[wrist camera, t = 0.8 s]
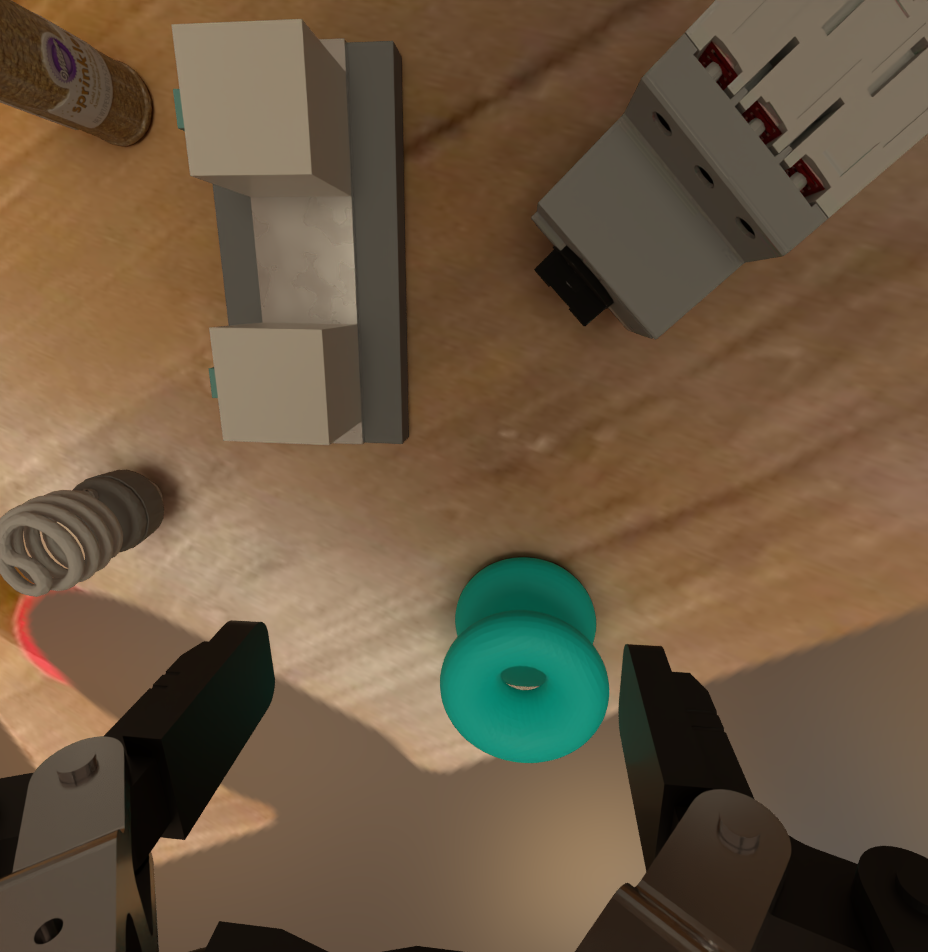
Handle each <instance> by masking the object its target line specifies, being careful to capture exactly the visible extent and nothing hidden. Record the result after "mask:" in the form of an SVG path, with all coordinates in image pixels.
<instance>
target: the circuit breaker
mask: <svg viewBox="0 0 928 952" xmlns="http://www.w3.org/2000/svg"><path fill="white" fill-rule="evenodd" d="M927 134H928V0H715V1H714V3H713V4H712V5H711V6H710V7H709V8H708V9H707V10H706V11H705V12H704V13H703V14H702V15H701V16H700V17H699V18H698V19H697V20H696V21H695V22H694V23H693V25H692V26H691V27H690V28H689V29H688V30H687V31H686V32H685V33H684V34H683V35H682V36H681V37H680V38H679V39H678V40H677V41H676V42H675V43H674V44H673V45H672V47H671V48H670V49H669V50H668V51H667V52H666V53H665V54H664V55H663V56H662V57H661V58H660V59H659V60H658V61H657V62H656V63H655V64H654V65H653V66H652V68H651V69H650V70H649V71H648V72H647V73H646V74H645V75H644V76H643V77H642V79H641V80H640V82H639V84H638V86H637V89H636V91H635V93H634V95H633V97H632V99H631V101H630V103H629V105H628V107H627V109H626V111H625V113H624V114H623V115H622V116H621V117H620V118H619V119H618V120H617V121H616V123H615V124H614V125H613V126H612V127H611V128H610V129H609V130H608V131H607V132H606V133H605V134H604V135H603V136H602V137H601V138H600V139H599V140H598V141H597V142H596V143H595V144H594V145H593V146H592V147H591V148H590V150H589V151H588V152H587V153H586V154H585V155H584V156H583V157H582V158H581V159H580V160H579V161H578V162H577V163H576V164H575V165H574V166H573V167H572V168H571V169H570V170H569V171H568V172H567V173H566V174H565V175H564V177H563V178H562V179H561V180H560V181H559V182H558V183H557V184H556V185H555V186H554V187H553V188H552V189H551V190H550V191H549V192H548V193H547V194H546V195H545V196H544V197H543V198H542V199H541V200H540V201H539V202H538V206H537V212H536V213H535V214H534V215H533V216H532V220H533V221H534V222H535V224H536V226H537V227H538V228H539V229H540V230H541V231H542V232H543V234H544V235H545V236H546V237H547V238H548V239H549V240H550V242H551V243H552V244H553V245H554V246H553V248H554V250H553V251H552V252H551V253H550V254H549V255H548V256H547V257H546V258H545V259H544V260H543V261H542V262H541V263H540V264H539V265H538V266H537V267H536V268H535V269H534V270H535V271H536V273H537V274H538V275H539V276H540V277H541V278H542V280H543V281H544V282H545V283H546V284H547V285H548V286H551V287H552V288H553V289H554V290H555V292H556V293H557V294H558V295H559V296H560V297H561V298H562V299H563V301H564V302H565V303H566V304H567V305H568V306H569V307H570V309H569V310H570V311H571V312H572V313H573V315H574V316H575V317H576V318H577V319H578V320H579V321H580V323H581V324H582V325H583V326H586V325H587V324H588V323H590V322H591V321H592V320H593V319H594V318H595V317H596V316H597V315H599V314H600V313H601V312H602V311H603V310H604V309H605V308H609V309H610V310H611V312H612V313H613V314H614V315H615V316H616V317H617V318H618V320H619V321H620V322H621V323H622V324H623V325H624V327H625V328H626V329H627V330H629V331H631V332H634V333H637V334H640V335H643V336H646V337H648V338H651V339H652V338H654V339H657V338H658V337H659V336H661V335H662V334H663V333H664V332H665V331H666V330H668V329H669V328H670V327H671V326H672V325H673V324H674V323H676V322H677V321H678V320H679V319H680V318H681V317H683V316H684V315H685V314H686V313H687V312H688V311H689V310H691V309H692V308H693V307H694V306H695V305H696V304H697V303H699V302H700V301H701V300H702V299H703V298H704V297H706V296H707V295H708V294H709V293H710V292H711V291H712V290H714V289H715V288H716V287H717V286H718V285H719V284H720V283H722V282H723V281H724V280H725V279H726V278H727V277H729V276H730V275H731V274H732V273H733V272H734V271H735V270H737V269H738V268H739V267H740V266H741V265H742V264H744V263H745V262H751V261H757V260H763V259H769V258H775V257H781V256H784V255H786V254H787V253H788V252H789V251H791V250H792V249H793V248H794V247H795V246H796V245H798V244H799V243H800V242H801V241H802V240H803V239H805V238H806V237H807V236H808V235H809V234H811V233H812V232H813V231H814V230H815V229H816V228H818V227H819V226H820V225H821V224H822V223H823V222H825V221H826V220H827V219H828V218H829V217H830V216H832V215H833V214H834V213H835V212H836V211H837V210H839V209H840V208H841V207H842V206H843V205H845V204H846V203H847V202H848V201H849V200H850V199H852V198H853V197H854V196H855V195H856V194H857V193H859V192H860V191H861V190H862V189H863V188H864V187H866V186H867V185H868V184H869V183H870V182H871V181H873V180H874V179H875V178H876V177H877V176H878V175H880V174H881V173H882V172H883V171H884V170H886V169H887V168H888V167H889V166H890V165H891V164H893V163H894V162H895V161H896V160H897V159H898V158H900V157H901V156H902V155H903V154H904V153H905V152H907V151H908V150H909V149H910V148H911V147H912V146H914V145H915V144H916V143H917V142H918V141H919V140H921V139H922V138H923V137H924V136H925V135H927Z"/></svg>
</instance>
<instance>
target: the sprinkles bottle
mask: <svg viewBox="0 0 928 952" xmlns="http://www.w3.org/2000/svg"><path fill="white" fill-rule="evenodd" d="M0 102H1V103H4V104H6V105H9V106H12V107H14V108H17V109H20V110H23V111H25V112H28V113H31V114H33V115H36V116H39V117H41V118H44V119H47V120H50V121H52V122H55V123H58V124H61V125H63V126H66V127H69V128H72V129H75V130H82V131H85V132H87V133H90V134H92V135H95V136H98V137H100V138H101V139H103V140H105V141H107V142H108V143H110V144H113V145H118V146H128V145H132V144H134V143H136V142H137V141H138V140H139V139H140V138H141V137H143V136H144V135H145V132H146V131H147V130H148V128H149V125H150V118H151V112H152V106H151V98H150V95H149V92H148V89H147V88H146V86H145V84H144V83H143V81H142V79H141V78H140V77H139V75H138V74H137V73H136V72H135V71H134V70H133V69H132V68H130V67H129V66H128V65H126V64H125V63H122V62H120V61H116V60H113V59H112V58H110V57H108V56H106V55H105V54H103V53H101V52H99V51H97V50H96V49H94V48H93V47H92V46H91V45H89V44H88V43H86V42H85V41H83V40H81V39H79V38H78V37H76V36H74V35H72V34H71V33H69V32H67V31H65V30H64V29H62V28H60V27H59V26H57V25H55V24H53V23H52V22H50V21H48V20H46V19H45V18H43V17H41V16H39V15H37V14H35V13H33V12H31V11H29V10H27V9H25V8H24V7H22V6H20V5H19V4H17V3H15V2H13V1H11V0H0Z"/></svg>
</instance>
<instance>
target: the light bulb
mask: <svg viewBox="0 0 928 952" xmlns="http://www.w3.org/2000/svg"><path fill="white" fill-rule="evenodd" d="M162 499H163V497H162V493H161V491H160V489H159V488H158V486H157V485H156V484H154V483H153V482H151V481H149V479H147V478H145V477H144V476H142V475H140V474H138V473H136V472H133V471H129V470H116V471H112V472H109V473H105V474H101V475H98V476H95V477H92V478H89V479H86V480H85V481H84V482H82V483H80V484H78V485H77V486H76V487H75V488H74V489H73V490H72V491H71V490H59V491H54V492H51V493H48V494H46V495H44V496H38V497H36V498H33V499H30V500H28V501H27V502H25V503H23V504H22V505H19V506H17V507H15V508H13V509H11V510H9V511H8V512H7V513H6V514H5V515H4V516H3V517H1V518H0V574H1V575H2V577H3V578H4V579H5V581H6V582H8V583H9V584H10V585H11V586H12V587H13V588H14V589H15V590H17V591H18V592H20V593H22V594H25V595H29V596H35V597H38V596H41V595H44V594H47V593H48V592H49V591H50V590H55V591H62V590H67V589H69V588H71V587H73V586H75V585H76V584H77V583H78V582H82V581H84V580H87V579H89V578H90V577H91V576H93V575H94V573H95V572H97V571H99V570H101V569H103V568H104V567H105V566H106V565H107V564H108V563H109V561H110V560H111V558H113V557H115V556H116V555H117V554H118V553H119V552H123V551H126V550H128V549H130V548H134V547H135V546H136V545H138V544H139V543H141V542H142V541H143V540H145V539H146V538H147V537H148V536H150V535H151V534H152V533H153V532H154V531H155V530H156V529H157V528H158V527H159V526H160V524H161V522H162V520H163V516H164V505H163V501H162ZM57 522H59V523H61V524H63V525H64V526H66V527H67V528H68V529H69V530H71V532H72V533H73V534H74V535H75V536H76V537H77V538H78V540H79V541H80V543H81V545H82V547H83V549H84V553H85V560H84V557H83V554H82V551H81V548H80V546H79V545H78V543H77V542H76V540H75V539H74V537H73V536H72V535H71V534H70V533H69V532H68V531H67V530H66V529H65V528H63V527H62V526H61V525H59V524H58V523H57ZM23 530H24V539H25V543H26V547H27V549H28V551H29V553H30V555H31V557H32V558H31V557H29V556H28V555H27V552H26V550H25V547H24V542H23ZM39 531H41V532H42V535H43V539H44V541H45V543H46V546H47V548H48V549H49V551H50V552H51V553H52V555H53V556H54V557H55V559H56V560H58V561H59V562H60V563H61V564H62V565H64V566H65V567H67V568H68V569H66V568H63V567H62V566H60V565H59V564H57V563H56V562H55V561H54V560H53V559H52V558H51V557H50V556H49V555H48V553H47V552H46V551H45V549H44V547H43V544H42V542H41V538H40V532H39ZM14 566H15V567H17V568H18V569H19V570H20V571H21V572H22V573H23V574H24V576H25V577H26V578H28V579H29V580H30V581H31V582H33V583H34V584H32V583H29V582H28V581H27V580H25V579H24V578H23V577H22V576H21V575H20V574H19V573H18V572H17V571H16V569H15V568H14ZM52 577H53V578H52Z"/></svg>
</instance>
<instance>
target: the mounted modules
mask: <svg viewBox="0 0 928 952" xmlns="http://www.w3.org/2000/svg"><path fill="white" fill-rule="evenodd" d="M172 32H173V40H174V48H175V56H176V64H177V72H178V80H179V88H180V89H173V93H174V101H175V109H176V116H177V124H178V128H179V129H181V130H183V131H185V137H186V145H187V153H188V161H189V169H190V176H193V177H195V178H198V179H201V180H204V181H207V182H210V183H212V184H215V185H218V186H221V187H224V188H226V189H229V190H232V191H235V192H238V193H240V194H243V195H246V196H249V197H332V196H351V177H350V155H349V133H348V111H347V89H346V72H345V71H344V69H343V68H342V67H341V66H340V65H339V63H338V62H337V61H336V60H335V59H334V57H333V56H332V55H331V54H330V53H329V51H328V50H327V49H326V48H325V46H324V45H323V44H322V43H321V42H320V40H319V39H318V38H317V37H316V36H315V34H314V33H313V32H312V31H311V30H310V28H309V27H308V26H307V25H306V24H305V22H304V21H303V20H302V19H291V20H267V21H244V22H220V23H196V24H173V25H172ZM209 330H210V338H211V346H212V354H213V362H214V367H213V368H209V375H210V383H211V391H212V398H218V402H219V410H220V418H221V426H222V434H223V441H243V442H267V443H291V444H315V445H330V444H331V443H333V442H334V441H336V440H337V439H338V438H340V437H341V436H342V435H344V434H345V433H347V432H348V431H349V430H351V429H352V428H353V427H355V426H356V425H357V424H359V423H360V422H362V419H361V397H360V375H359V353H358V331H357V324H318V323H252V324H241V325H231V326H220V327H209Z"/></svg>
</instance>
